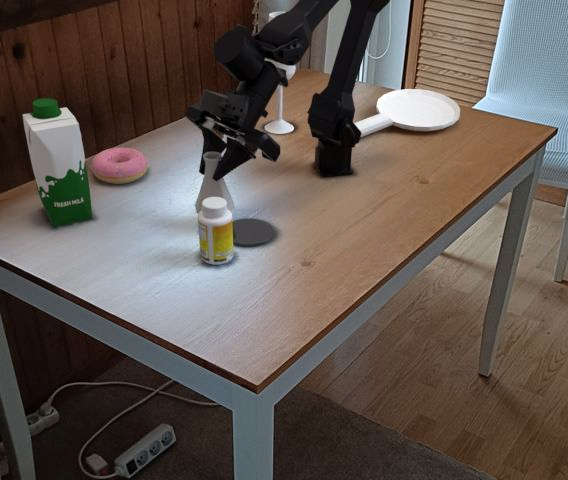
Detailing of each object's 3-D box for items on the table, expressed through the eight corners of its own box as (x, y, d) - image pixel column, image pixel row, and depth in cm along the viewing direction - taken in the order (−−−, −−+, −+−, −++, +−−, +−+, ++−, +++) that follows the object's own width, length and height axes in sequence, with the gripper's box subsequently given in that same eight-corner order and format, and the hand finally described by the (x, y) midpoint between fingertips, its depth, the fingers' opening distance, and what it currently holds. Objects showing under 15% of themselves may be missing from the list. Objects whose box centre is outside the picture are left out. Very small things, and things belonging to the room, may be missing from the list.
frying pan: (363, 169, 156) (365, 149, 152) (306, 134, 166) (307, 114, 163) (475, 123, 172) (479, 104, 168) (416, 93, 182) (419, 75, 179)
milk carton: (85, 199, 140) (67, 93, 127) (99, 220, 133) (81, 111, 121) (38, 208, 136) (14, 101, 124) (50, 231, 130) (27, 120, 118)
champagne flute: (258, 129, 166) (258, 16, 151) (274, 119, 171) (275, 8, 156) (284, 136, 164) (286, 21, 149) (299, 126, 168) (303, 13, 153)
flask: (232, 219, 128) (229, 166, 122) (190, 217, 129) (186, 163, 122) (238, 199, 134) (237, 147, 127) (199, 197, 134) (195, 145, 128)
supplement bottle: (238, 252, 126) (237, 197, 119) (225, 269, 122) (223, 213, 115) (208, 246, 127) (205, 191, 121) (194, 262, 123) (190, 207, 117)
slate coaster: (266, 218, 135) (266, 215, 135) (279, 243, 128) (280, 240, 128) (218, 224, 133) (217, 221, 133) (229, 249, 126) (229, 247, 126)
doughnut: (160, 173, 148) (158, 154, 146) (116, 192, 142) (114, 172, 139) (124, 157, 154) (122, 138, 151) (81, 175, 147) (78, 155, 145)
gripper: (188, 55, 123) (142, 138, 124) (268, 84, 113) (218, 174, 114) (225, 90, 133) (182, 167, 134) (301, 119, 123) (255, 202, 124)
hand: (207, 176), depth 126 cm, fingers closed on flask, 3 cm apart
